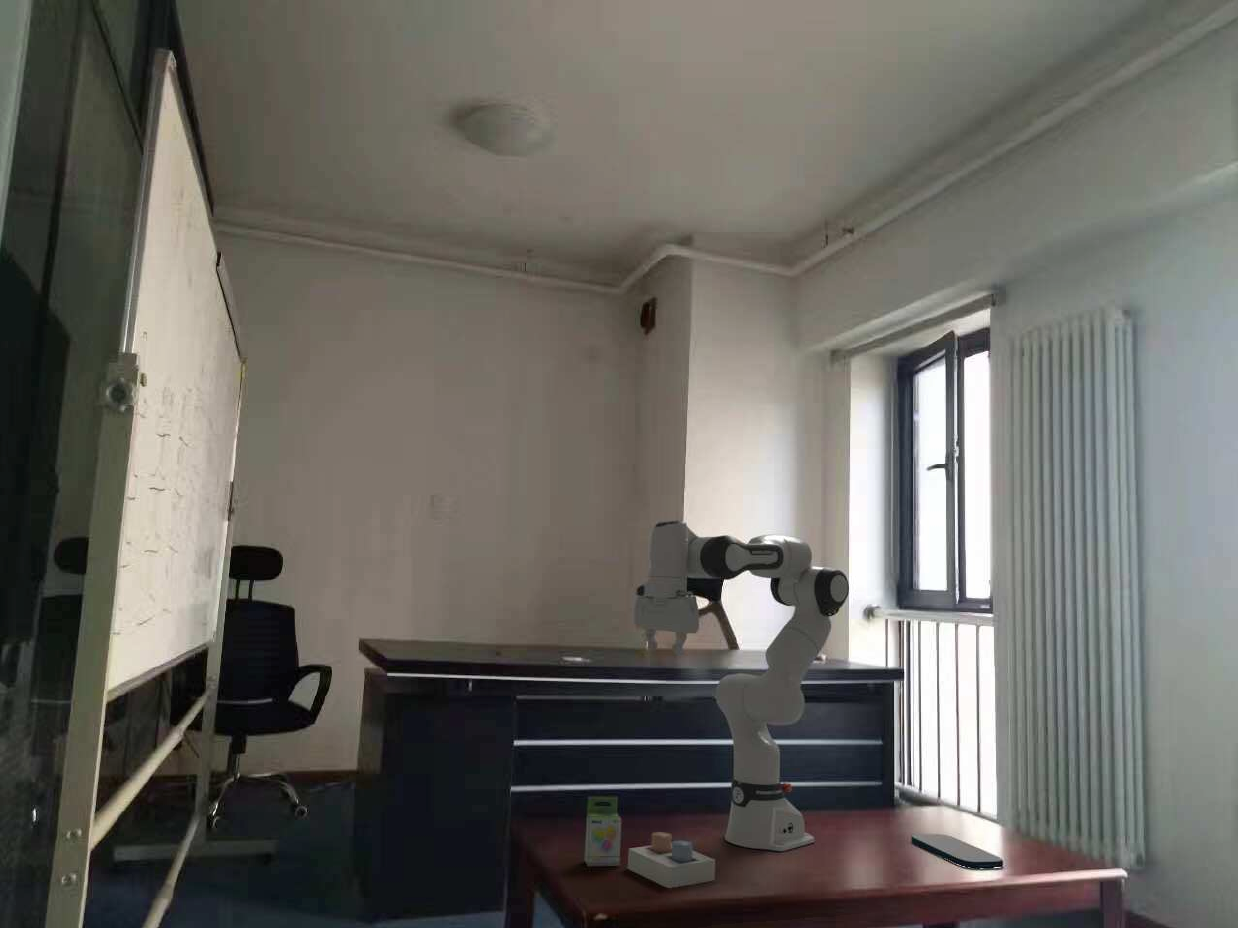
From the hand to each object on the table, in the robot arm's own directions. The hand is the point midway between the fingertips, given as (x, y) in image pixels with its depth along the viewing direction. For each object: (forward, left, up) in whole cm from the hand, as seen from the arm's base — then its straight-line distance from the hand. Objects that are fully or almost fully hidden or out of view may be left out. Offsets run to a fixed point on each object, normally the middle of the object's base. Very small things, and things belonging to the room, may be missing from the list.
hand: (664, 651), depth 201 cm
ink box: (+13, -2, -45) cm, 47 cm away
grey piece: (+4, +14, -42) cm, 44 cm away
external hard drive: (-70, +26, -45) cm, 88 cm away
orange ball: (+4, +7, -42) cm, 42 cm away
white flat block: (+4, +10, -45) cm, 46 cm away
